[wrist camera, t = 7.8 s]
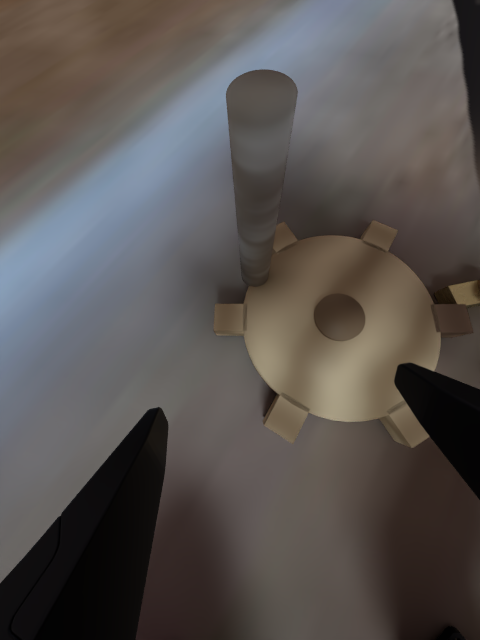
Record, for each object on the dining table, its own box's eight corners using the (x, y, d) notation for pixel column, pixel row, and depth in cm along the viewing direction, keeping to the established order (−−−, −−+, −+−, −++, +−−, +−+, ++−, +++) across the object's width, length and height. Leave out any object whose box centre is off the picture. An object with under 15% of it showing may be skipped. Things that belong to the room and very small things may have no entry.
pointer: (481, 281, 21) (506, 270, 19) (493, 304, 21) (521, 295, 18) (432, 291, 21) (453, 280, 19) (444, 314, 20) (466, 306, 18)
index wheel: (472, 281, 21) (963, 55, 6) (389, 503, 17) (1337, 1324, 2) (289, 201, 24) (345, -61, 10) (181, 368, 20) (0, 328, 6)
